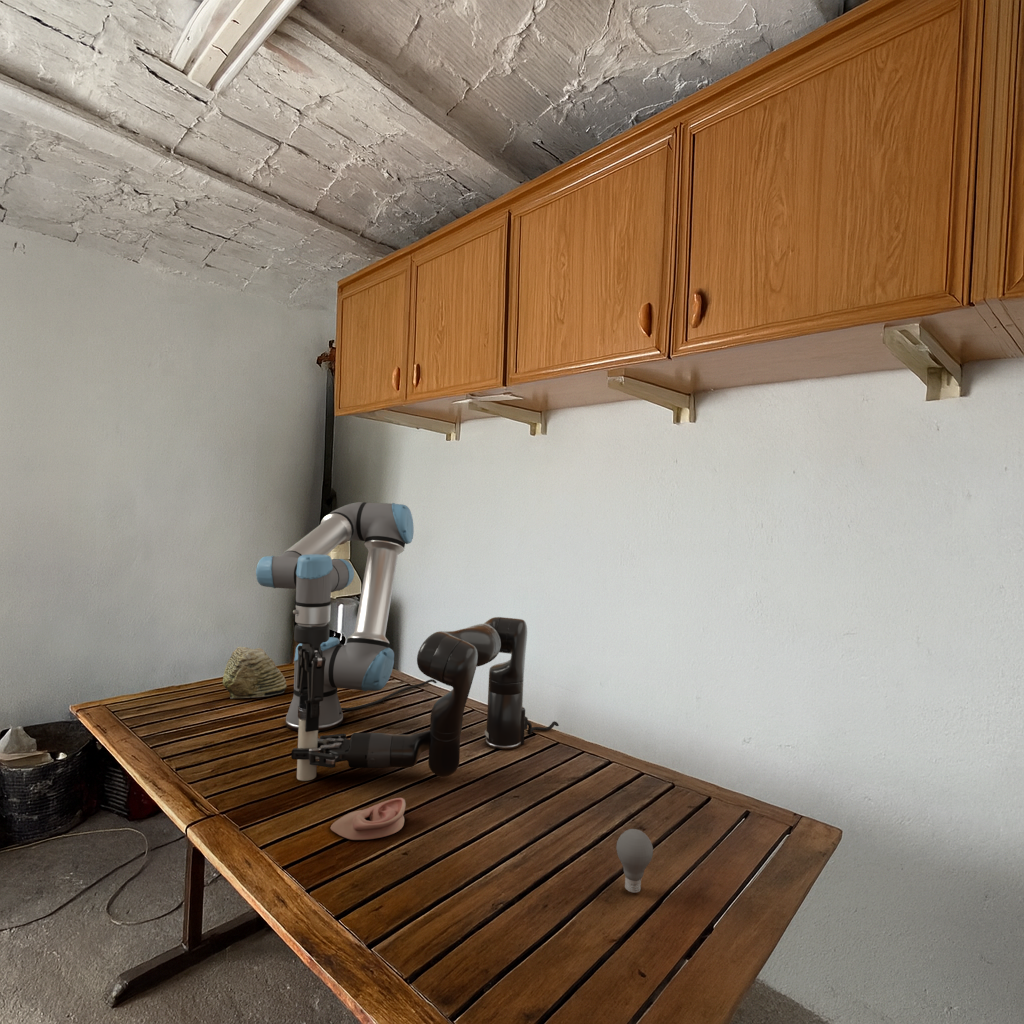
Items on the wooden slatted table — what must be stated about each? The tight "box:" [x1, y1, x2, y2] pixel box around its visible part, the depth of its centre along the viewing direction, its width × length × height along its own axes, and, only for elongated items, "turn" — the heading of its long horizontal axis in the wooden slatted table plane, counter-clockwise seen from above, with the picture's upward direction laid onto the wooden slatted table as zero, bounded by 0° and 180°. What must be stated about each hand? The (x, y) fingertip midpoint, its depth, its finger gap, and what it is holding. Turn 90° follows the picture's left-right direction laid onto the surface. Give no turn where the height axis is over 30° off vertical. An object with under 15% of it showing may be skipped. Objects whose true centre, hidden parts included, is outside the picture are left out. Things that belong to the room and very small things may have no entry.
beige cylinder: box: [296, 719, 319, 782], centre depth 143 cm, size 4×4×16 cm
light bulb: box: [615, 828, 654, 894], centre depth 106 cm, size 6×6×10 cm
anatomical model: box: [330, 797, 407, 841], centre depth 123 cm, size 13×4×12 cm
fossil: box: [222, 646, 288, 699], centre depth 198 cm, size 9×18×15 cm, turn 132°
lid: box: [298, 703, 320, 720], centre depth 143 cm, size 5×5×2 cm
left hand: (308, 726), depth 143 cm, fingers closed on lid, 5 cm apart
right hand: (295, 749), depth 143 cm, fingers closed on beige cylinder, 4 cm apart
